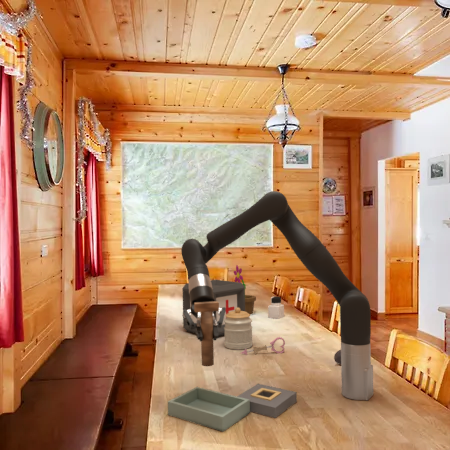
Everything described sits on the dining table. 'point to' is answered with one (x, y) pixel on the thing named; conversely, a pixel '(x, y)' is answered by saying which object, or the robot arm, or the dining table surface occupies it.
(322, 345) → the dining table surface
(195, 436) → the dining table surface
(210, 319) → the t key
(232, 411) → the tray
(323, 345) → the dining table surface
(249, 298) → the flowerpot
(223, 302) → the first aid kit
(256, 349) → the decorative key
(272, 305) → the medicine bottle
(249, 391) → the plate
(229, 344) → the jar
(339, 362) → the perforated stone tool
